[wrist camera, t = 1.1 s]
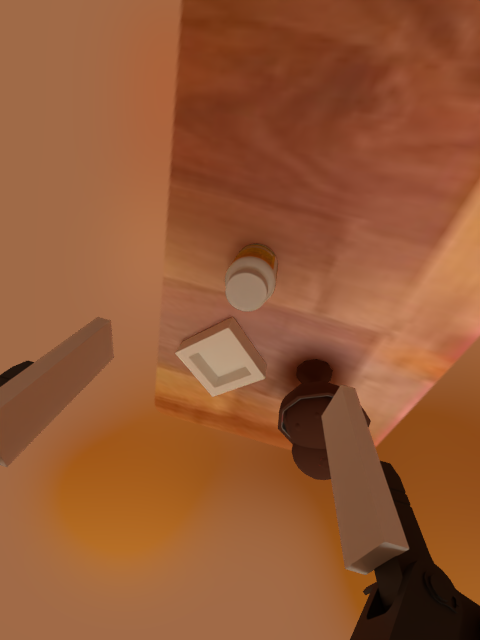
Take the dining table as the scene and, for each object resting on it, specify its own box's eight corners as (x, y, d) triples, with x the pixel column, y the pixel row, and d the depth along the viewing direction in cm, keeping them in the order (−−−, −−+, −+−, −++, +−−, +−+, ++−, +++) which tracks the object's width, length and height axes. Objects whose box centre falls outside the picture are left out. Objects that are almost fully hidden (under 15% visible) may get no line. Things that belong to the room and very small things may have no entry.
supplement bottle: (282, 277, 31) (281, 311, 23) (243, 288, 33) (230, 323, 25) (270, 236, 29) (265, 258, 21) (230, 249, 30) (209, 275, 22)
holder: (232, 316, 35) (228, 327, 33) (266, 364, 39) (265, 378, 36) (182, 341, 39) (174, 353, 36) (217, 383, 43) (212, 396, 40)
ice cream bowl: (356, 392, 39) (391, 498, 26) (287, 400, 42) (288, 497, 29) (346, 339, 34) (384, 434, 21) (270, 352, 37) (262, 442, 25)
